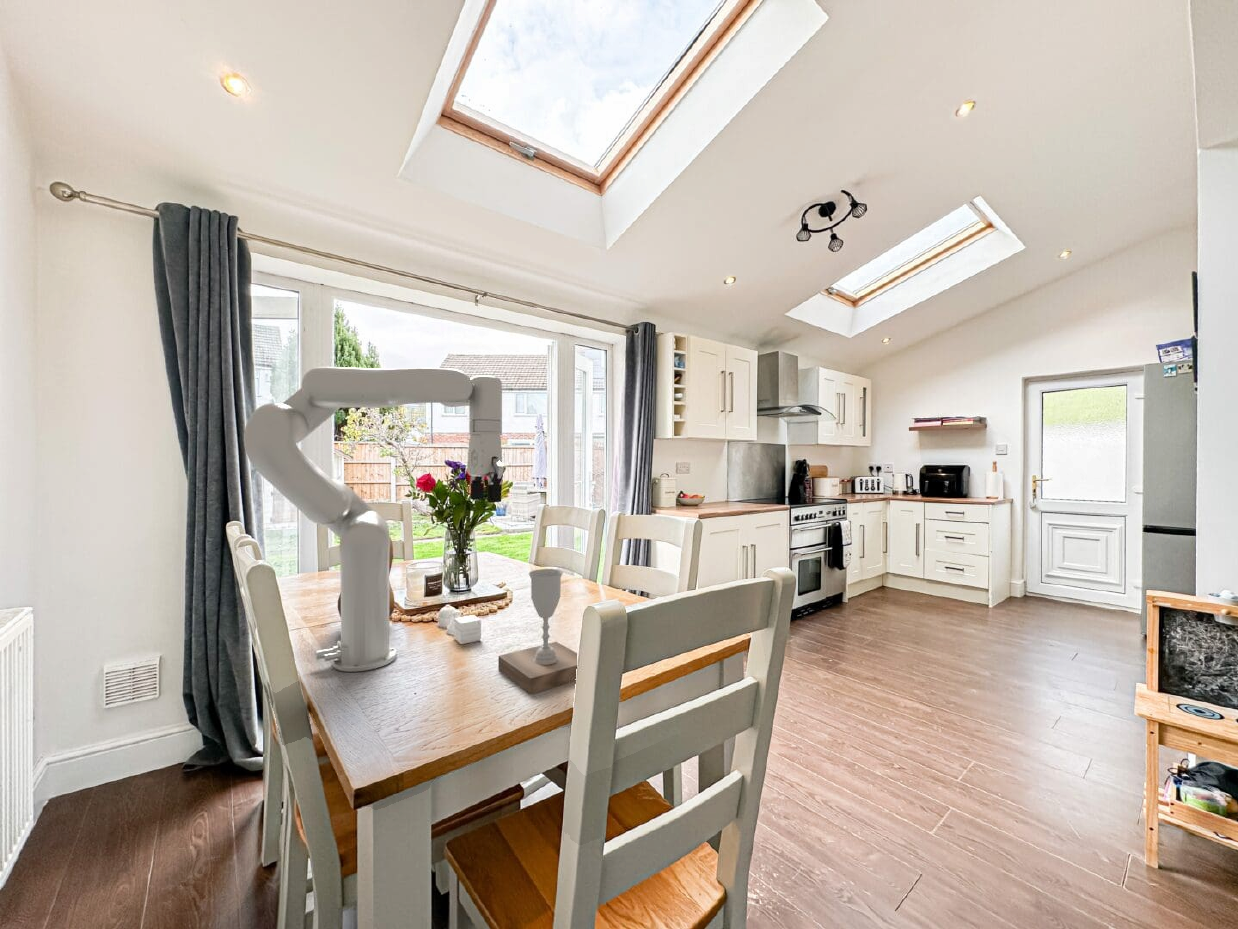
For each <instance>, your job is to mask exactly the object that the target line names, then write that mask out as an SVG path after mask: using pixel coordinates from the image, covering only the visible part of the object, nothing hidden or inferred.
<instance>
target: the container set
mask: <svg viewBox="0 0 1238 929" xmlns="http://www.w3.org/2000/svg"><path fill="white" fill-rule="evenodd" d="M437 615H438V616H437V619H438V620H437V627H439V628H440V627H441V628H446V634H448V635H451V636H453V638H454V641H456V642H457V643H458V644H460V645H465V644H468V643H469V644H470V643H474V642H478V641H481V639H482V619H481V618H479V617H477V616H476V615H474V614H470V615H464V616H462V611H461V610H457V609H456V608H455V607H453V606H451V604H446V605H445V606H443V607H442V608H441V609H440V610H439V611H438V614H437Z"/></svg>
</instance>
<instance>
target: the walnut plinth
mask: <svg viewBox="0 0 1238 929" xmlns="http://www.w3.org/2000/svg"><path fill="white" fill-rule="evenodd" d="M548 645H549V647H552V648H553V649H554V650H555V651H554V652H555V653H556V656H557V658H558V660H557V661H556V662H555V663H552V664H547V665H541V664H536V663H534V662H533V660H534V658H535V655H536V653H537V650H538V649H539V648H540V647H542V646H543V644H541V645H537V646H533V647H528V648H525V649H520V650H516V651H512V652H509V653H504V654H500V655H498V658H497V659H498V660H497V661H498V664H497V665H498V671H499V672H500V673H501V674H502V675H505V677H507V678H508V679H509V680H511V681H513V682H514V683H515V684H516V685H517V686H519V687H520V688H522V689H523V690H524V691H525V692H526V693H527V694H529V695H533V694H536V693H540V692H543V691H547V690H550V689H553V688H556V687H557V686H562V685H565V684H568V683H571V682H575V681H576V680H575V679H576V669H577V652H576V651H574V650H572V649H571V648H569V647H567V646H565V645H563V644H561V643H559V642H558V641H553V642H548Z"/></svg>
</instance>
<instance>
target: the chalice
mask: <svg viewBox="0 0 1238 929" xmlns="http://www.w3.org/2000/svg"><path fill="white" fill-rule="evenodd" d="M563 574H564V571H563V570H560V569H558V568H541V569H536V570H535V569H534V570H532V571H531V570H530V571H529V572H528V575H529V577H530V585H531V586H530V587H531V588H530V592H531V593H530V599H531V600H532V604H533V607H534V609H535V610H536V613H537V615H538V617H539V618H541V619H542V620H543V624H542V626H541V629H542V631H543V634H542V635H541V638H542V642H543V643H542V645H543V646H542V647H540V648H539V649H538V650H537V653H536V655H535V658H534V660H533V662H534V663H536V664H541V665H547V664H552V663H555V662H556V661H557V660H558V658H557V656H556V653H555V652H554V651H555V650H554V649H553V648H552V647H549V645H548V644H549V638H550V637H551V636H550V634H549V629H550V625H549V619H550V618H551V617H553V616H554V613H555V611H556V610H557V607H558V605H559V602H560V598H561V590H562V589H561V579H562V576H563Z"/></svg>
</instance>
